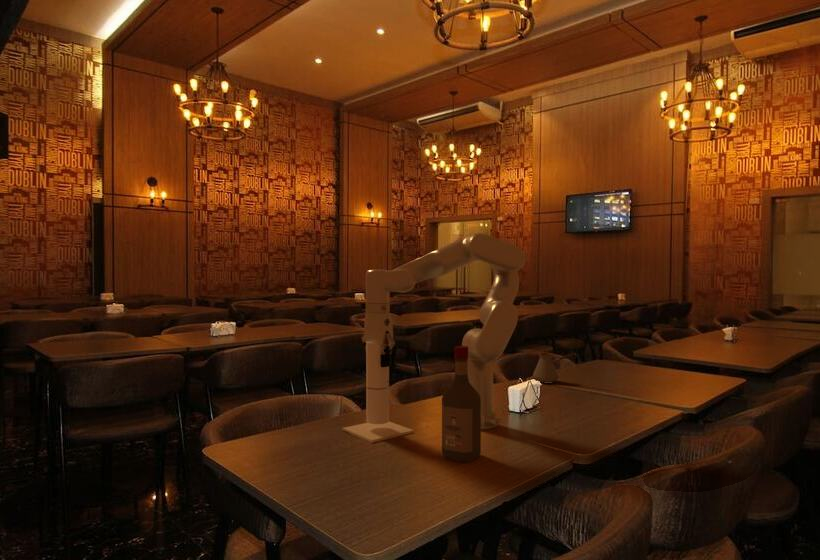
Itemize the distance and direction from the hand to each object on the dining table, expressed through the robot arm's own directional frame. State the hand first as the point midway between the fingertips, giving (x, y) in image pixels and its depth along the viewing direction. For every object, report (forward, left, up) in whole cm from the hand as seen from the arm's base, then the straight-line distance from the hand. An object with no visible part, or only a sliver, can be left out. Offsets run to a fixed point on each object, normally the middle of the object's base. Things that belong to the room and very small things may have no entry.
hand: (377, 364), depth 169 cm
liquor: (-33, -4, -21) cm, 40 cm away
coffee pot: (+8, -105, -21) cm, 107 cm away
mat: (0, 0, -21) cm, 21 cm away
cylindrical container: (0, 0, -18) cm, 18 cm away
